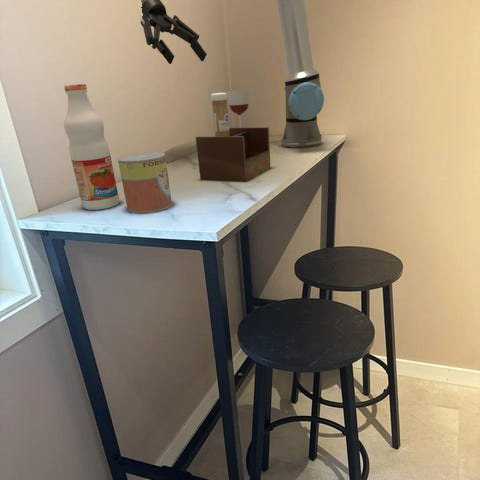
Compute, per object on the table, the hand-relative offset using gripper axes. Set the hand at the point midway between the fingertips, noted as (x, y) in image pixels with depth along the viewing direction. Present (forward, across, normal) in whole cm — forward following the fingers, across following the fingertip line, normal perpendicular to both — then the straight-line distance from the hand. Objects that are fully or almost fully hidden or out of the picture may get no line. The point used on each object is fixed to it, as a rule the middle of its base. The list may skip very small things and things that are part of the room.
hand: (188, 59), depth 142 cm
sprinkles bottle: (+28, +6, -4) cm, 29 cm away
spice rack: (+37, +5, -8) cm, 38 cm away
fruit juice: (+31, +48, -14) cm, 59 cm away
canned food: (+40, +42, -5) cm, 59 cm away
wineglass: (+12, -38, -33) cm, 52 cm away
